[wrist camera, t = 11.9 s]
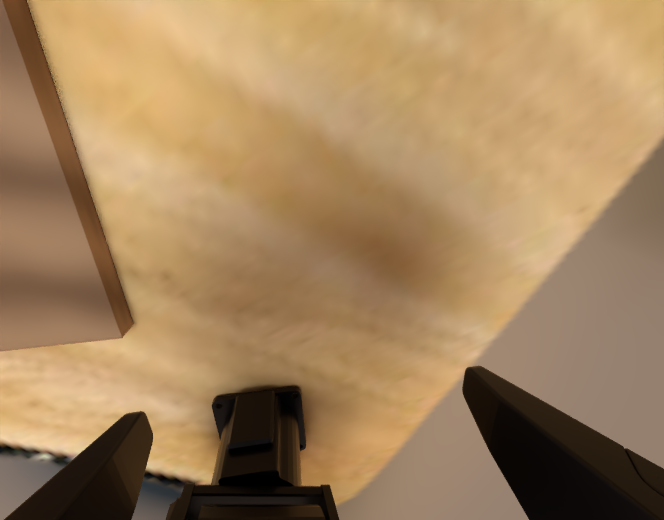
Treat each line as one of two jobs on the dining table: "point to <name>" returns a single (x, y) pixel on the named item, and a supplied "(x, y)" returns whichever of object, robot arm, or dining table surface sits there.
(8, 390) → the dining table surface
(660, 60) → the dining table surface
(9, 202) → the board
